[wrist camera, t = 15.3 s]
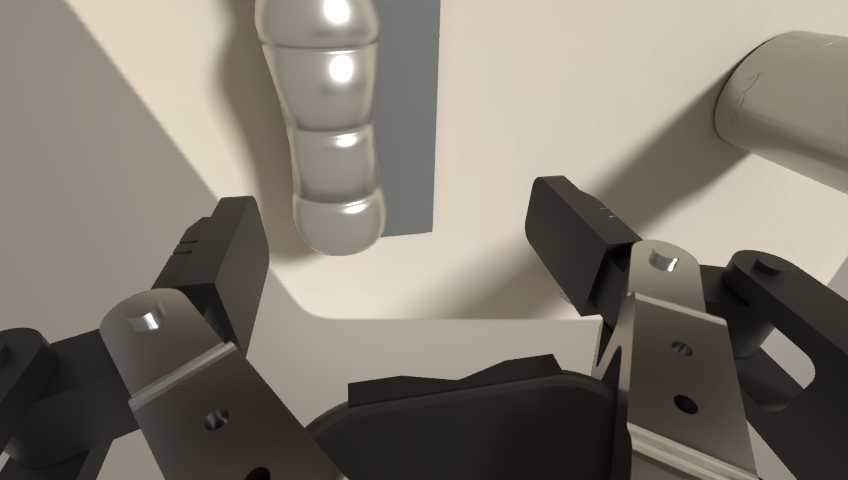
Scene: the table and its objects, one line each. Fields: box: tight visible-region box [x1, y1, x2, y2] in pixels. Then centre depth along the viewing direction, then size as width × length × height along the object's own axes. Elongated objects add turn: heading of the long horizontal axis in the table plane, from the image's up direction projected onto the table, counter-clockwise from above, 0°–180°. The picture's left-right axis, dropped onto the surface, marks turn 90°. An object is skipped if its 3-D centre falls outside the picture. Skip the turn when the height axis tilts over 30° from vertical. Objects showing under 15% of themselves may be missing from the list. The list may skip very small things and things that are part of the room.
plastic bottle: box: [254, 0, 387, 256], centre depth 23 cm, size 6×7×20 cm
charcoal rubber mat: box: [374, 0, 440, 236], centre depth 26 cm, size 10×24×1 cm, turn 0°
